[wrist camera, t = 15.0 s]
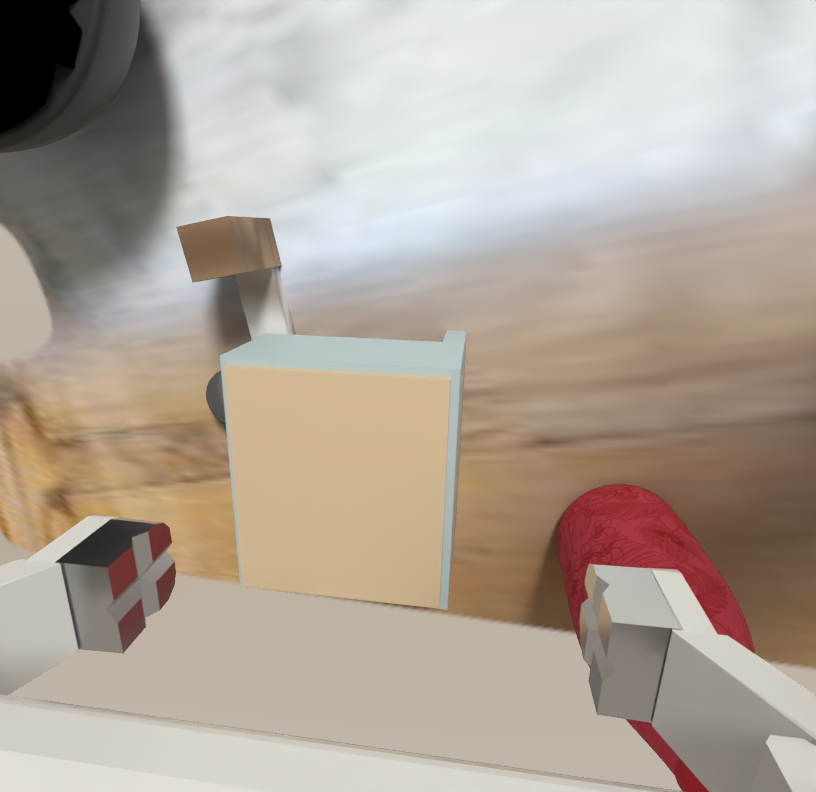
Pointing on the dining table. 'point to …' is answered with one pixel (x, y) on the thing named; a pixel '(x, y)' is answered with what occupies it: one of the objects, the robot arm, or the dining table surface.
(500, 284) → the dining table surface
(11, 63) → the coal bowl
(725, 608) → the wine bottle
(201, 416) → the dining table surface
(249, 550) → the cabinet
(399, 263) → the dining table surface
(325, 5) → the dining table surface
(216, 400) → the steel puck
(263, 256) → the wood-handled metal tool
